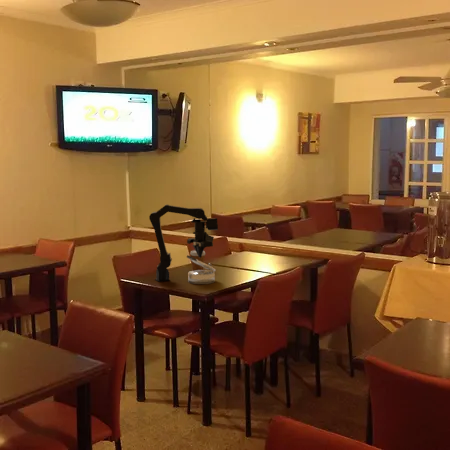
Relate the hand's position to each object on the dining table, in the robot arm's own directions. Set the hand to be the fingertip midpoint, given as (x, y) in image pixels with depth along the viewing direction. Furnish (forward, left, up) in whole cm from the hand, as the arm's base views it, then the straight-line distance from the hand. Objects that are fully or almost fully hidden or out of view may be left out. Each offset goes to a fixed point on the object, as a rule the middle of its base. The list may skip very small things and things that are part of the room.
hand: (199, 257), depth 330 cm
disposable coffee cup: (+14, +25, -13) cm, 32 cm away
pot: (-1, -3, -13) cm, 14 cm away
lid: (-1, -3, -4) cm, 5 cm away
